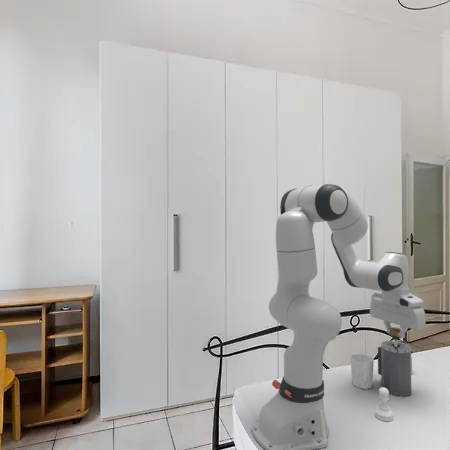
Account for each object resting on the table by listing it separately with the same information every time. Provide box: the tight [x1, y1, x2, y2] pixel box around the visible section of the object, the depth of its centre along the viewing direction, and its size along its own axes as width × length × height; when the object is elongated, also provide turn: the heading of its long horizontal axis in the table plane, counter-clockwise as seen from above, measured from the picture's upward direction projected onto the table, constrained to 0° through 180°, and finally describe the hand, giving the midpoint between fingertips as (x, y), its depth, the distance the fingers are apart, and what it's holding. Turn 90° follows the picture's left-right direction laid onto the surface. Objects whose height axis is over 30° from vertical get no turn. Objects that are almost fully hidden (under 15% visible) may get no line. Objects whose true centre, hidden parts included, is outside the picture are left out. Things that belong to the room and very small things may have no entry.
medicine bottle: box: [392, 339, 413, 376], centre depth 133 cm, size 7×7×12 cm
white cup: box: [350, 353, 375, 390], centre depth 122 cm, size 8×8×10 cm
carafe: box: [377, 340, 412, 398], centre depth 120 cm, size 10×12×16 cm
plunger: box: [390, 326, 402, 347], centre depth 118 cm, size 7×7×18 cm
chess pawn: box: [374, 387, 394, 422], centre depth 102 cm, size 5×5×9 cm
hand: (395, 335), depth 118 cm, fingers closed on plunger, 3 cm apart
